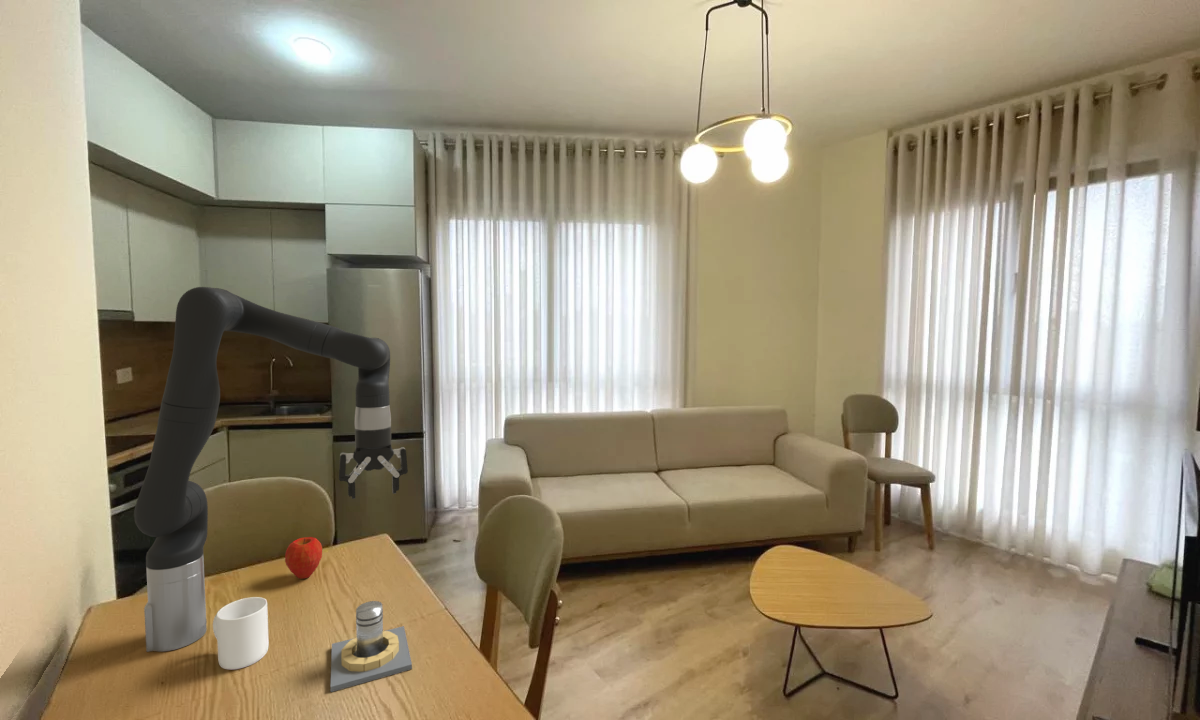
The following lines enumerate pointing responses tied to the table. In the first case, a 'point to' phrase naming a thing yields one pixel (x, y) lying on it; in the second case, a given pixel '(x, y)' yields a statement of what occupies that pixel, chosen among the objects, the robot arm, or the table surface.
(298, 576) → the apple
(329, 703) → the table surface
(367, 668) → the ring block
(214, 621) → the mug
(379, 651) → the piston
